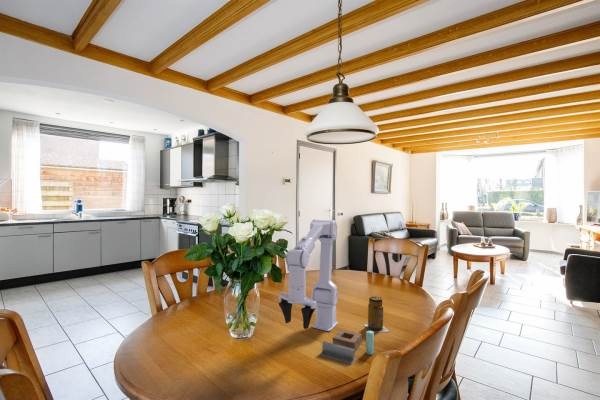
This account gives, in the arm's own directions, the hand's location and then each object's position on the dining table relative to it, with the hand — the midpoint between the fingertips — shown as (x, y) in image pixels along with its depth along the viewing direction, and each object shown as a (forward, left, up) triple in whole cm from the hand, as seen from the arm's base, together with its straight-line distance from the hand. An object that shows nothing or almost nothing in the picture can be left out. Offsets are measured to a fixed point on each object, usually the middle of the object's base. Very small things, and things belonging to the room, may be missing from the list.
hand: (296, 325), depth 103 cm
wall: (-6, +13, -10) cm, 17 cm away
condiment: (-34, +18, -10) cm, 40 cm away
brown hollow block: (-14, +13, -10) cm, 22 cm away
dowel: (-13, +21, -10) cm, 27 cm away
